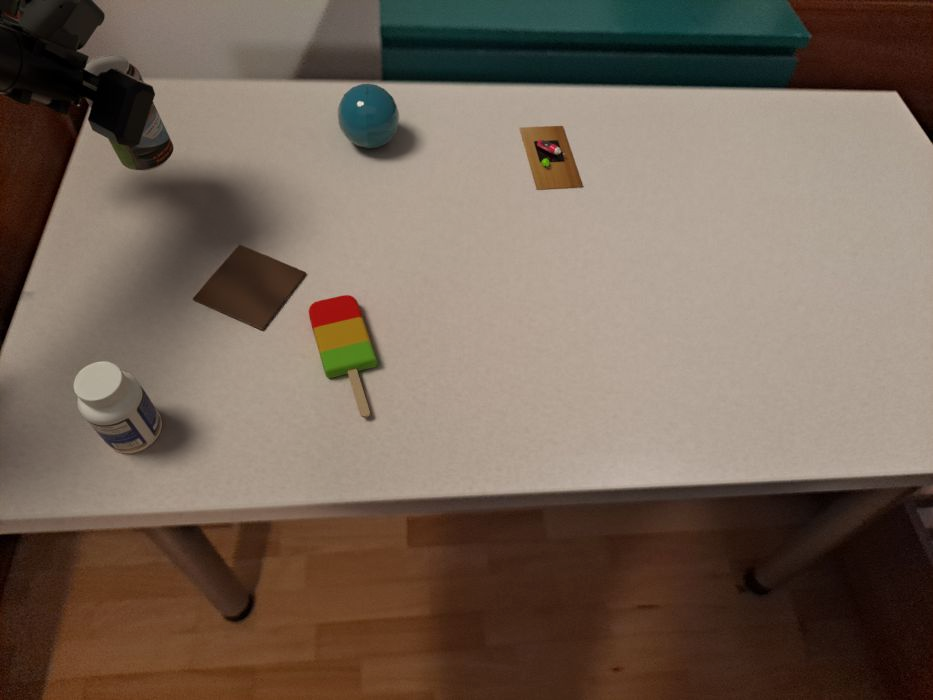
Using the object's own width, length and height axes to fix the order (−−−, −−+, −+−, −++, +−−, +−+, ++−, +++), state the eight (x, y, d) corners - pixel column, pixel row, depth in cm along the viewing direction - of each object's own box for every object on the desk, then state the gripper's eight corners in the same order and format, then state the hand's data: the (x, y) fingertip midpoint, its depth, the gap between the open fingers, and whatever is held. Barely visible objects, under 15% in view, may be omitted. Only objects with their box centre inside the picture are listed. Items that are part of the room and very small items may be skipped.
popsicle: (355, 300, 78) (354, 290, 76) (392, 413, 71) (392, 404, 69) (307, 311, 77) (305, 301, 75) (339, 427, 69) (338, 419, 68)
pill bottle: (134, 396, 69) (98, 344, 61) (174, 422, 68) (143, 372, 60) (92, 437, 67) (49, 388, 59) (134, 464, 66) (96, 418, 57)
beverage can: (164, 182, 78) (133, 93, 68) (101, 170, 78) (60, 79, 68) (185, 146, 82) (158, 56, 72) (124, 134, 82) (89, 42, 72)
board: (536, 189, 90) (538, 181, 89) (519, 128, 96) (520, 119, 95) (582, 187, 91) (585, 178, 90) (562, 126, 97) (564, 118, 96)
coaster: (262, 331, 75) (262, 329, 75) (193, 300, 76) (192, 298, 76) (306, 274, 80) (305, 272, 79) (240, 246, 81) (239, 244, 81)
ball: (400, 122, 95) (399, 71, 88) (398, 162, 91) (398, 112, 84) (341, 120, 94) (337, 68, 88) (337, 160, 90) (332, 109, 83)
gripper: (103, 4, 57) (223, 60, 71) (-54, -70, 61) (90, -3, 75) (65, 133, 59) (188, 161, 74) (-84, 53, 63) (62, 95, 78)
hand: (132, 100), depth 75 cm, fingers closed on beverage can, 6 cm apart
